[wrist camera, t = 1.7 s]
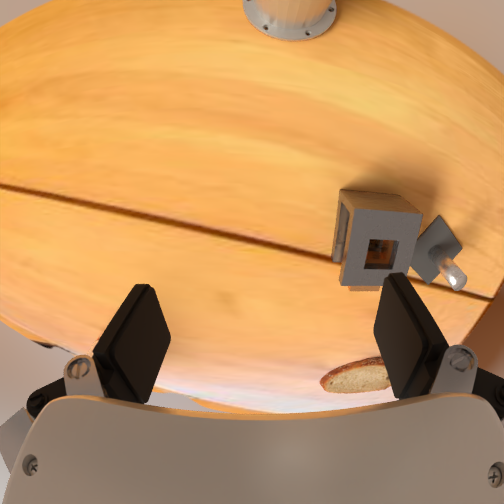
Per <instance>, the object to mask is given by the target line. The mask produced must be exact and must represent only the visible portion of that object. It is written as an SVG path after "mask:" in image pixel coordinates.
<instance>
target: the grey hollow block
mask: <svg viewBox="0 0 504 504" xmlns="http://www.w3.org/2000/svg"><path fill="white" fill-rule="evenodd" d="M422 217H423V214H422V213H421V212H420V211H418V210H417V209H416V208H415V207H414V206H412V205H411V204H410V203H409V202H407V201H406V200H405V199H404V198H402V197H401V196H400V195H393V194H383V193H373V192H362V191H350V190H340V191H339V201H338V209H337V218H336V226H335V233H334V240H333V247H332V254H331V258H332V261H333V262H342V265H341V271H340V276H339V281H340V284H341V286H348V288H349V291H379V288H380V286H383V282H384V278H385V277H388V275H389V274H390V273H397V272H403V273H404V274H405V276H407V273H408V270H409V266H410V263H411V260H412V256H413V253H414V249H415V245H416V241H417V238H418V234H419V230H420V225H421V221H422ZM370 239H376V242H375V243H369V241H370Z"/></svg>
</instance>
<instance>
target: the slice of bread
mask: <svg viewBox="0 0 504 504" xmlns="http://www.w3.org/2000/svg"><path fill="white" fill-rule="evenodd" d="M320 384H321V386H322V387H323V388H324V390H325V391H327V392H331V393H361V392H370V391H376V390H378V391H379V390H382V389H386V388H387V387H390V386H391V383H390V380H389V377H388V374H387V371H386V368H385V365H384V362H383V359H382V357H378V358H368V359H365V360H362V361H355V362H352V363H349V364H346V365H343V366H340V367H338V368H336V369H334V370H332V371H330V372H329V373H327V374H326V375H325V376H324V377H323V378H322V379H321V381H320Z"/></svg>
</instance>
